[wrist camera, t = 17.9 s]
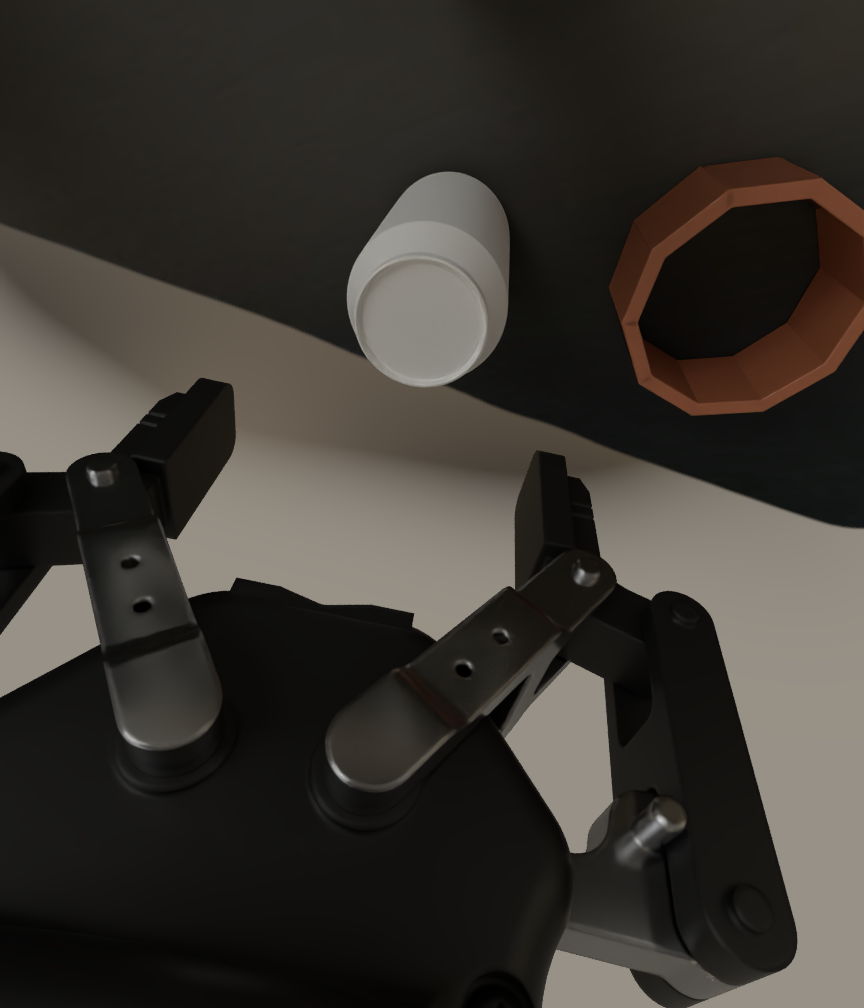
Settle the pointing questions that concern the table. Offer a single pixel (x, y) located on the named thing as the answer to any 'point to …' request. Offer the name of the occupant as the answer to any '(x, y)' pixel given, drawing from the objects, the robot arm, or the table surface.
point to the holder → (785, 351)
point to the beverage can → (433, 282)
